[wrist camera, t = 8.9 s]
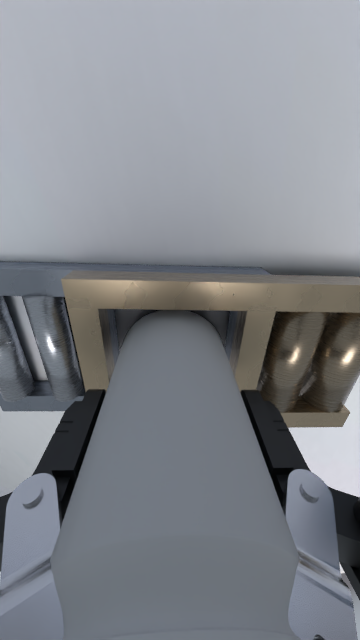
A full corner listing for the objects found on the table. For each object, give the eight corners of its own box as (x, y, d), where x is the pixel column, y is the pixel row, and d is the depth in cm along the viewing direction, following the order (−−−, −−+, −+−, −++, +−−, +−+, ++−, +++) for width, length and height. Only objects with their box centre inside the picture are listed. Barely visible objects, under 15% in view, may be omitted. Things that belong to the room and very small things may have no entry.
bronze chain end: (83, 263, 13) (60, 278, 11) (375, 270, 14) (423, 286, 11) (105, 395, 18) (93, 428, 15) (320, 395, 19) (344, 426, 16)
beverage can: (125, 297, 13) (-57, 680, 3) (231, 309, 14) (422, 662, 3) (123, 379, 16) (31, 716, 6) (210, 386, 17) (276, 702, 6)
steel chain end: (-42, 260, 13) (-76, 269, 11) (261, 267, 14) (274, 277, 12) (15, 395, 18) (-2, 417, 16) (235, 395, 19) (242, 415, 17)
